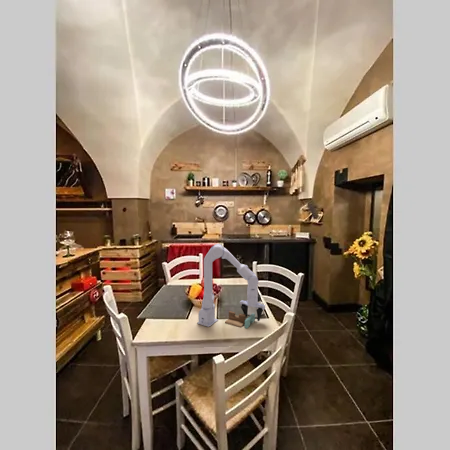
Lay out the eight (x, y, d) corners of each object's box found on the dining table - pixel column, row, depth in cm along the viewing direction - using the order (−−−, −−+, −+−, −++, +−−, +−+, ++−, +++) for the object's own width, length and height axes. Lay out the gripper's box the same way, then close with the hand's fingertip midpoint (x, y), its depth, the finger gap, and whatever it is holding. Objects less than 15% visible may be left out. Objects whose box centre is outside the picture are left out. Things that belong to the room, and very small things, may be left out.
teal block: (247, 328, 137) (247, 321, 136) (244, 327, 137) (244, 320, 137) (254, 320, 145) (254, 313, 145) (252, 320, 146) (252, 313, 146)
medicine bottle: (253, 310, 159) (253, 291, 158) (263, 313, 154) (263, 294, 153) (247, 314, 153) (247, 295, 152) (257, 318, 149) (257, 297, 148)
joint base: (241, 327, 137) (241, 318, 137) (224, 323, 142) (224, 314, 142) (248, 320, 146) (248, 312, 146) (233, 316, 151) (233, 308, 151)
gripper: (267, 295, 142) (267, 319, 144) (243, 291, 150) (243, 313, 151) (262, 299, 136) (262, 324, 137) (238, 294, 144) (238, 318, 145)
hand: (252, 319), depth 144 cm, fingers open, 7 cm apart
